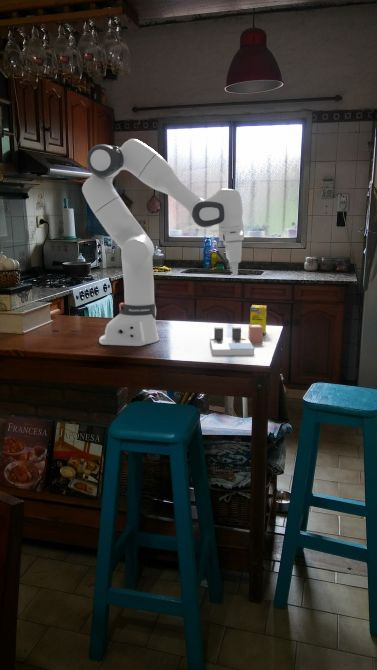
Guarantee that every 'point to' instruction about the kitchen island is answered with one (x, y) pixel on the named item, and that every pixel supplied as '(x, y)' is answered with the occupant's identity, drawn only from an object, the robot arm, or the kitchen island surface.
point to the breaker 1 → (218, 333)
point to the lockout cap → (255, 333)
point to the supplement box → (258, 316)
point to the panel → (231, 347)
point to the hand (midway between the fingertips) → (233, 273)
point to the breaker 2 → (236, 333)
